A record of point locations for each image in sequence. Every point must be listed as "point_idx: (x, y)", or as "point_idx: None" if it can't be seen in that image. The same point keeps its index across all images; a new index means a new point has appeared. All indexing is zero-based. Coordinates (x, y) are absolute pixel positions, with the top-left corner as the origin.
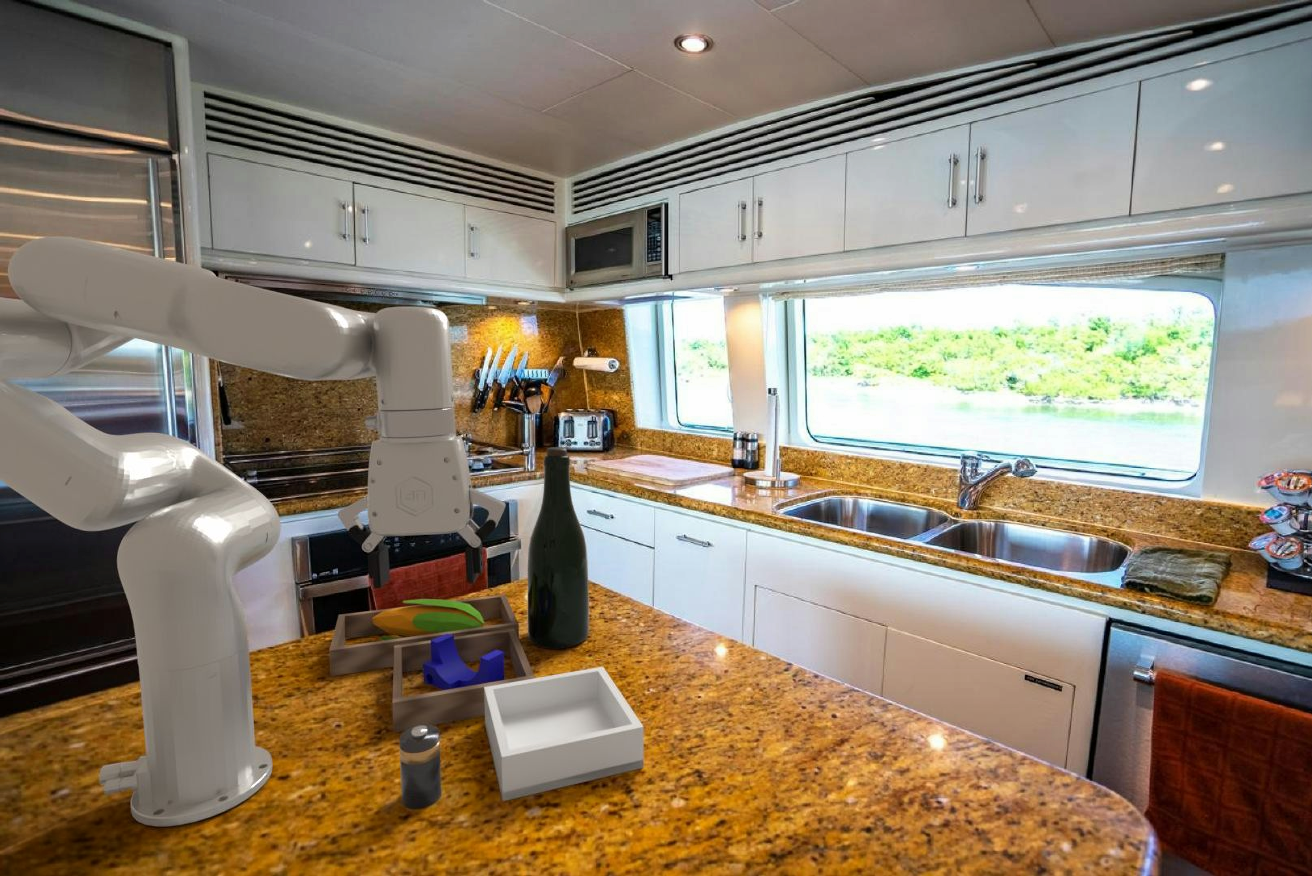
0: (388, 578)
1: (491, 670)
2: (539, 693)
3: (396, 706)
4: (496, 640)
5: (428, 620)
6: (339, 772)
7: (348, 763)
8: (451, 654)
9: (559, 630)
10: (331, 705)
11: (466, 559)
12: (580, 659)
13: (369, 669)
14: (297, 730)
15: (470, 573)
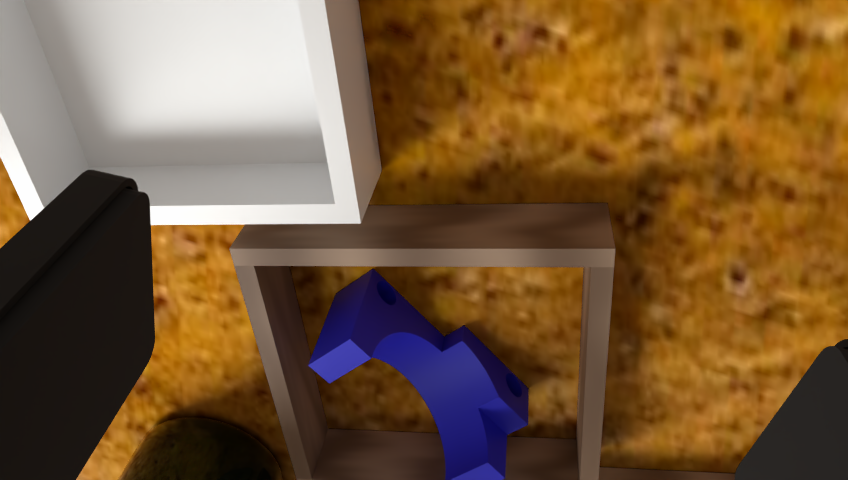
0: (749, 467)
1: (349, 321)
2: (220, 187)
3: (603, 241)
4: (347, 465)
5: None
6: (751, 74)
7: (726, 107)
8: (455, 433)
9: (188, 453)
10: (747, 363)
11: (13, 317)
12: (158, 364)
13: (650, 471)
14: (835, 288)
15: (62, 214)
